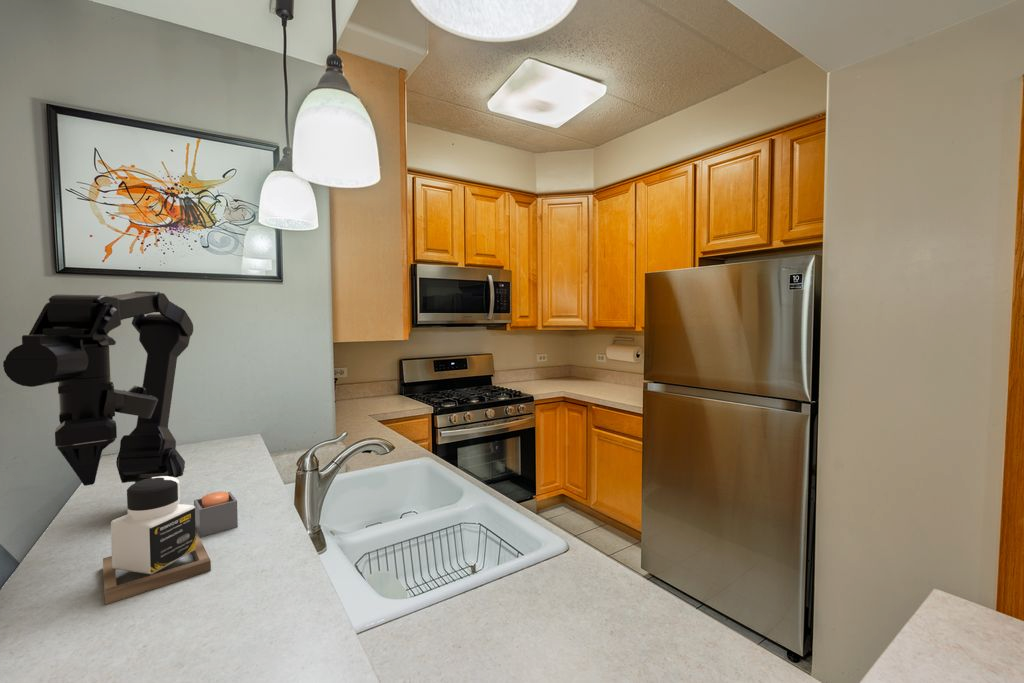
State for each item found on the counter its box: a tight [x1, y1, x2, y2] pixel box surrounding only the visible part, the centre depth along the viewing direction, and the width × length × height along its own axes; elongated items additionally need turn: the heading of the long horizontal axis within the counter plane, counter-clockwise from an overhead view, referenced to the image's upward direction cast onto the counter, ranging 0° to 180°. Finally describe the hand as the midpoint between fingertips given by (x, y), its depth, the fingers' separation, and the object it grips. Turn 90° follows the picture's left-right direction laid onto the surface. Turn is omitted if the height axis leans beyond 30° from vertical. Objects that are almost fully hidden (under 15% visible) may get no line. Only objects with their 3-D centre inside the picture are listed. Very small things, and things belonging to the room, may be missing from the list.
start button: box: [201, 491, 229, 508], centre depth 79 cm, size 4×4×2 cm
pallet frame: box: [102, 532, 212, 605], centre depth 65 cm, size 12×12×2 cm
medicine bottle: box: [110, 476, 197, 575], centre depth 65 cm, size 7×7×12 cm
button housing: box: [193, 491, 239, 538], centre depth 79 cm, size 6×6×5 cm
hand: (89, 476), depth 68 cm, fingers open, 9 cm apart
